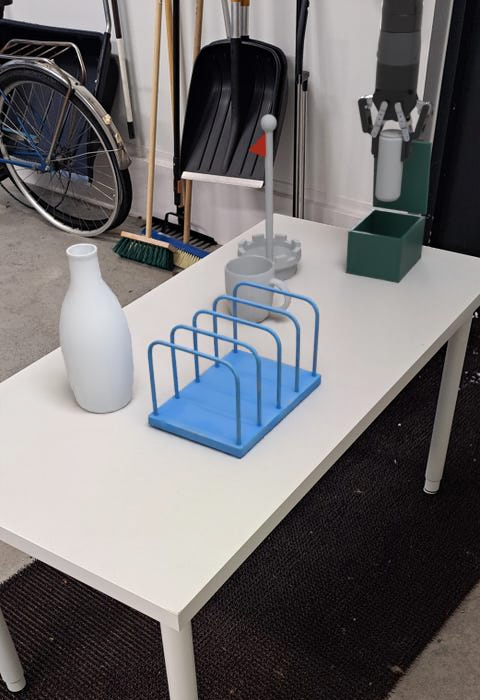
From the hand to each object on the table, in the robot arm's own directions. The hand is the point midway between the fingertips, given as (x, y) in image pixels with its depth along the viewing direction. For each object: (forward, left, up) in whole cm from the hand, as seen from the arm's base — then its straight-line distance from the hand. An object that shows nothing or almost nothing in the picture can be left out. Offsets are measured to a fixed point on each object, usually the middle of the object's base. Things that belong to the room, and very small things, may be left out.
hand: (390, 158), depth 161 cm
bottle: (+67, +22, -22) cm, 74 cm away
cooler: (-1, -1, -22) cm, 22 cm away
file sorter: (+48, +33, -22) cm, 62 cm away
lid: (-6, -5, -6) cm, 9 cm away
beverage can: (0, 0, -8) cm, 8 cm away
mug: (+32, +8, -22) cm, 39 cm away
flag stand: (+21, -10, -22) cm, 32 cm away
